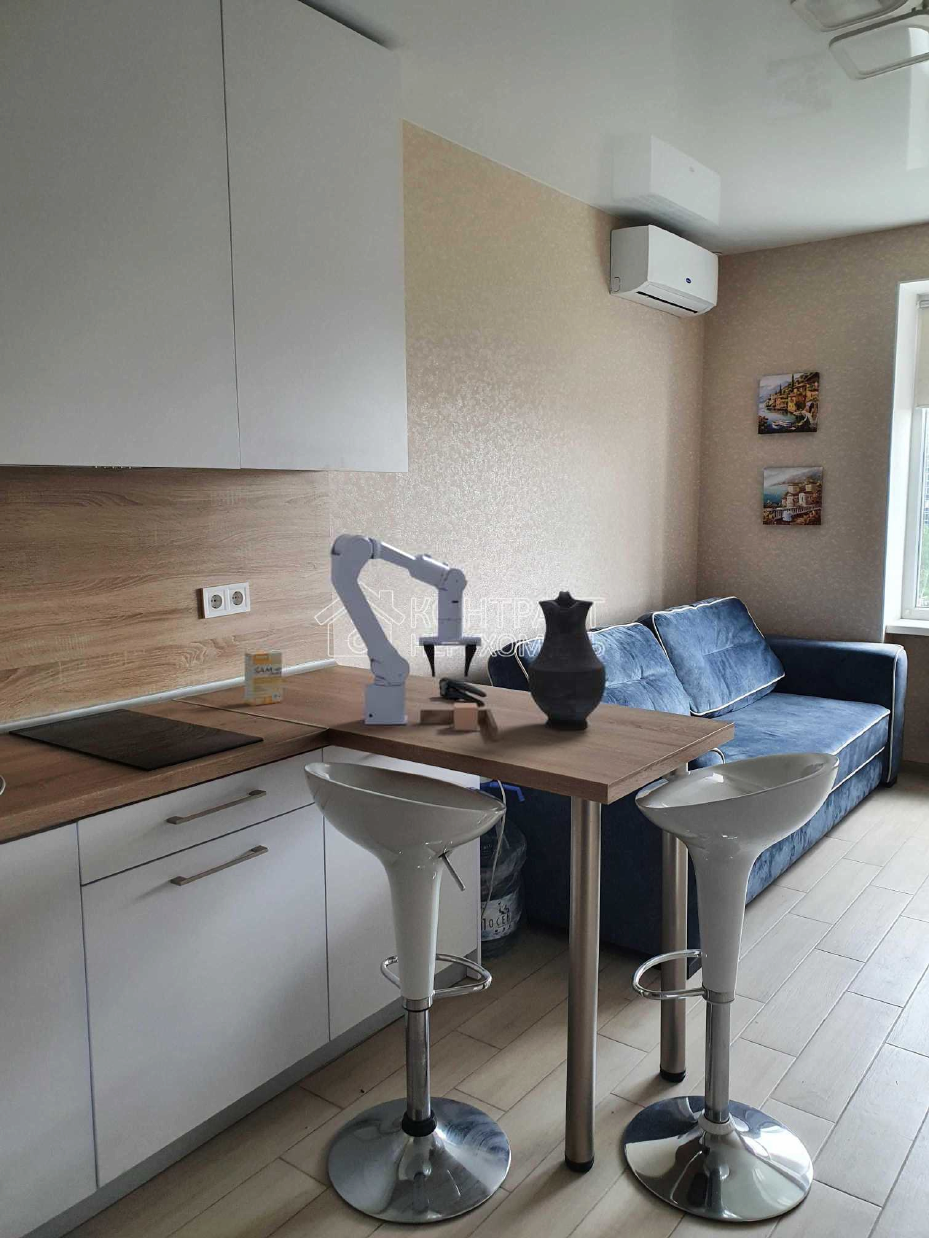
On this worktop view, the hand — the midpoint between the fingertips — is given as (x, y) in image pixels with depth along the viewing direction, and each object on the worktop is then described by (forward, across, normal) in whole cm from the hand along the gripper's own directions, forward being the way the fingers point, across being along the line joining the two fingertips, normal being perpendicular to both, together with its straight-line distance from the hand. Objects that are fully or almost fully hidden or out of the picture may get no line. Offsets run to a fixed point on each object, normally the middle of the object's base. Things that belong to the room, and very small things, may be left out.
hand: (449, 676), depth 218 cm
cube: (+9, +3, -14) cm, 17 cm away
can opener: (+10, +4, +18) cm, 21 cm away
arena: (+9, +1, -17) cm, 19 cm away
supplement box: (+10, -46, +16) cm, 50 cm away
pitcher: (+10, +26, -10) cm, 29 cm away
